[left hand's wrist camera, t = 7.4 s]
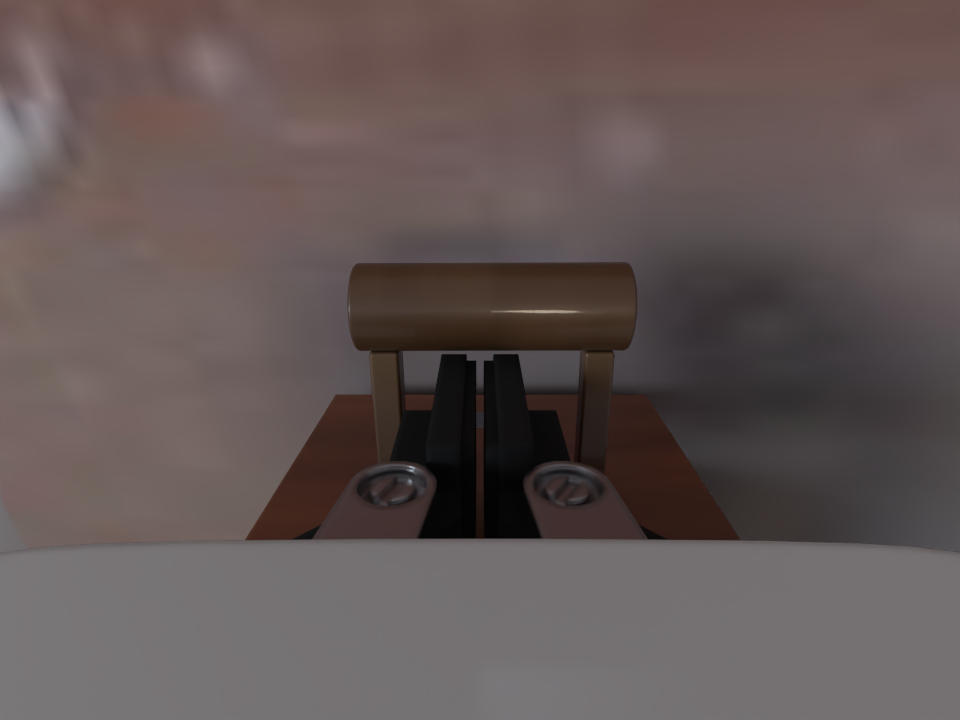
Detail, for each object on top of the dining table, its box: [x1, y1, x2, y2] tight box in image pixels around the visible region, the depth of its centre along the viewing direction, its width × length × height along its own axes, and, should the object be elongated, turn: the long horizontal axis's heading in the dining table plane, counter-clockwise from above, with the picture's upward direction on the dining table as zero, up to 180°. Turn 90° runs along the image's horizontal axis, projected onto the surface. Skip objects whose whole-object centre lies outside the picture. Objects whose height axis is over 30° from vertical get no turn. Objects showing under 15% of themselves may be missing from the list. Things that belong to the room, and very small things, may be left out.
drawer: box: [245, 262, 740, 540], centre depth 17 cm, size 25×10×8 cm, turn 0°
